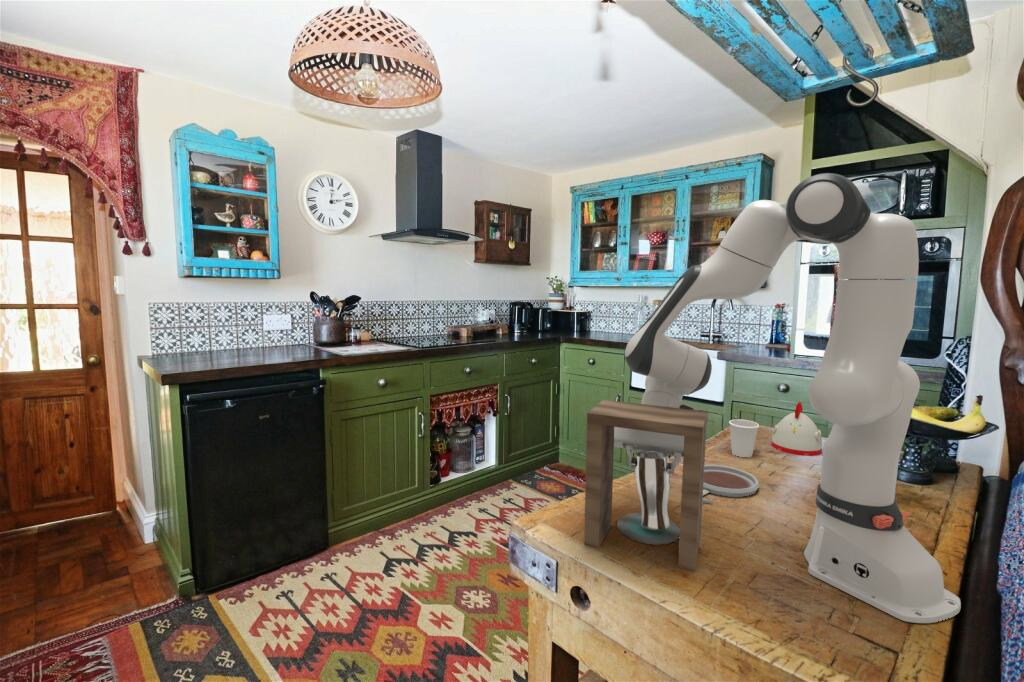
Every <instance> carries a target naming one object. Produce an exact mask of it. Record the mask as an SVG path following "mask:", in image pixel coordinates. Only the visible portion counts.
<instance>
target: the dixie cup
mask: <svg viewBox="0 0 1024 682" xmlns="http://www.w3.org/2000/svg"><path fill="white" fill-rule="evenodd" d="M728 424H729V432H730V446H731V447H730V449H731V454H732V456H735V455H736V456H735V457H737V456H739V457H738V458H742V457H750V458H752V457H753V453H754V448H755V444H756V440H757V439H756V438H757V435H758V430H759V427H760V425H759V423H758V422H755V421H753V420H748V419H742V418H741V419H739V418H738V419H735V418H734V419H731V420H729V421H728ZM751 456H752V457H751Z"/></svg>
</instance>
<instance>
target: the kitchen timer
mask: <svg viewBox="0 0 1024 682" xmlns="http://www.w3.org/2000/svg"><path fill="white" fill-rule="evenodd" d="M822 442H823V439H822V433H821V429H818V427H817V425H816V424H815V422H814V421H813V420H812V419H811V418H810V417H809V416H808V415H806V414H805V413H803V404H802V402H800V401H798V402H797V403H796V406H795V409H794V412H790V413H789V414H787V415H785V416H784V417H783V418H782V419H781V420H780V421H779V422H778V423H776V424H774V429H773V431H772V438H771V447H772V446H773V447H774V448H773V447H772V448H773V449H775V448H776V449H775V450H777V451H779V450H780V451H779V452H782V453H786V454H788V455H789V454H790V455H794V456H803V457H816V456H819V455H822V454H823V446H822V445H823V443H822Z"/></svg>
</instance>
